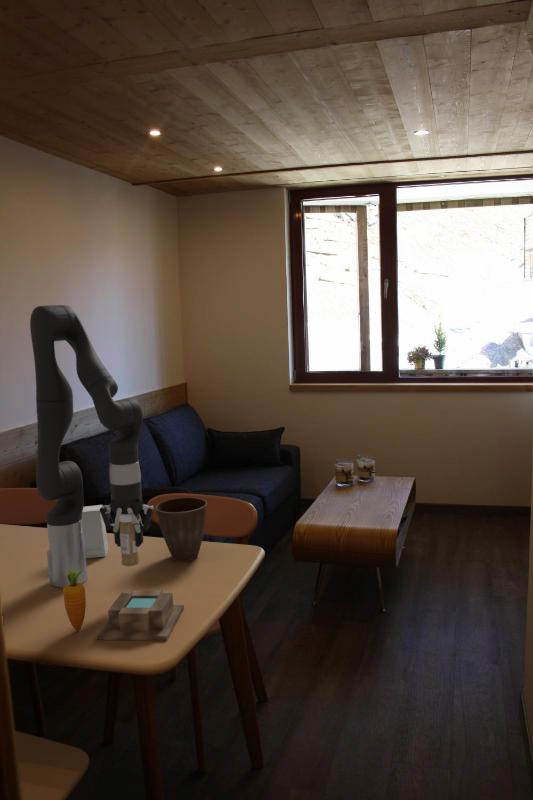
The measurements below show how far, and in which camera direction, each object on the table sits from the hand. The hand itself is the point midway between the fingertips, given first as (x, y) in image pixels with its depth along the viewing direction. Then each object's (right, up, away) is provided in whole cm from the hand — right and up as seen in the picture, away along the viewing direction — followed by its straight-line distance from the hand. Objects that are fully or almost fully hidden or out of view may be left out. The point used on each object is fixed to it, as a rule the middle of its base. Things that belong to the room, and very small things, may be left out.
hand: (129, 545), depth 175 cm
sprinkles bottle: (0, -5, +1) cm, 5 cm away
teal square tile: (+5, -12, -12) cm, 18 cm away
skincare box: (-18, -11, +36) cm, 42 cm away
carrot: (-9, -17, -14) cm, 24 cm away
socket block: (+5, -16, -12) cm, 20 cm away
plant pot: (+10, -10, +31) cm, 34 cm away
